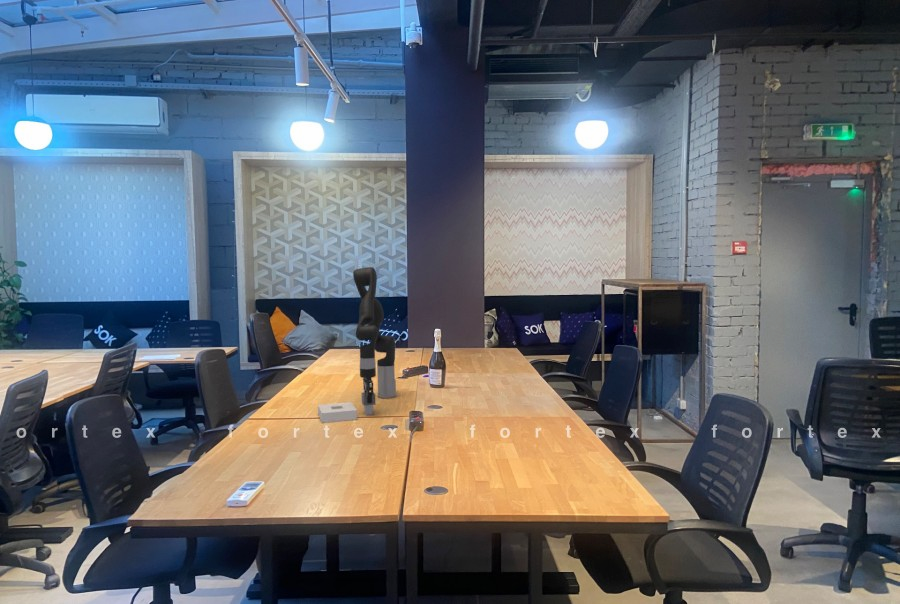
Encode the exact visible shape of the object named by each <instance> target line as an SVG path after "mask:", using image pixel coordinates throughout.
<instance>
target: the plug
mask: <svg viewBox="0 0 900 604" xmlns="http://www.w3.org/2000/svg"><path fill="white" fill-rule="evenodd" d="M370 392H371V391H370ZM370 392H369V393H370ZM361 404H362V405H363V409H364V411H363V414H364V415H365V416H372V415H374V406H375V405H376V393H375V392H374V391H373V395H372V403H367V392H364V391H363V392H361Z"/></svg>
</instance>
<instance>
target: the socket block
mask: <svg viewBox="0 0 900 604" xmlns="http://www.w3.org/2000/svg"><path fill="white" fill-rule="evenodd" d="M317 415H318V416H319V417H318V418H319V419H320V422H321V423H322V424H325V423H334V422H346V421H355V420H358V409H357V408H356V407H355V405H354V404H353V403H352V402H351V401H350V402H349V401H348V402H339V403H331V404H330V403H328V404H318V405H317Z"/></svg>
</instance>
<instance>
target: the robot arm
mask: <svg viewBox="0 0 900 604" xmlns="http://www.w3.org/2000/svg"><path fill="white" fill-rule="evenodd" d="M352 276H353V281H354V283H355V287H356V289H357V292H358V295H359V297H360V300H361V302H360V303H359V307H358V308H359V319H358V324H357V327H356V329H355V337H356V339H357V340H358V341H370V342H369V343H366V344H363V345H361V346H360V347H359V376H360V378H362V383H363V386H362V387H363V392H367V403H372V395H373V392H374V381H373V379H372V378H375V377H376V375H377V397H378V398H380V399H391V398H396V397H397V385H396V381H397V380H396V378H395V376H396V375H395V360H396V339H395V337H394V336H393V335H382V334H381V331H380V328H381V326H382V323H383V321H384V317H385V314H384V309H383V306H382V304H381V302H380V300H378V299H377V297H376V290H377V282H378V278H377V277H378V275H377V271H376V269H375V268H374V267H372V266H369V267H368V266H367V267H362V268H361V267H360V268H356V269H354V270H353V275H352ZM366 287H368V288H366ZM376 353H382V354H384V353H385V356H384V357H383V358H379V359H377V361H376ZM376 363H377V364H376ZM376 370H377V372H376ZM369 392H370V393H369Z"/></svg>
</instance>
